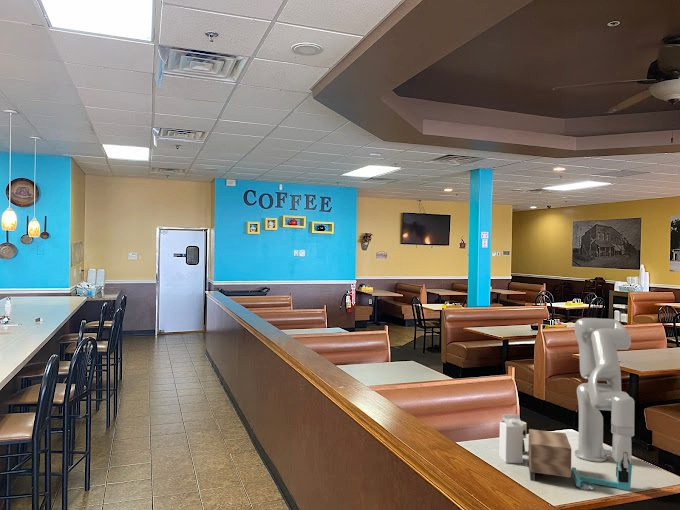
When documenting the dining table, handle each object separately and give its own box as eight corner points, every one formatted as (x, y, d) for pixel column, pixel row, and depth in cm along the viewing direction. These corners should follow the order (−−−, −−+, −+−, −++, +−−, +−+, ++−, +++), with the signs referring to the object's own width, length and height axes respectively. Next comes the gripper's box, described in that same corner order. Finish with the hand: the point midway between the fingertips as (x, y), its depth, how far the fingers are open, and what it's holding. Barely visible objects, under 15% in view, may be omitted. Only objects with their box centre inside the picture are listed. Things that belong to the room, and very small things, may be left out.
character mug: (525, 457, 221) (525, 426, 221) (507, 454, 224) (508, 424, 224) (526, 449, 231) (527, 420, 232) (510, 447, 234) (510, 418, 234)
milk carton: (499, 457, 220) (499, 412, 221) (515, 457, 221) (515, 412, 221) (505, 463, 213) (506, 416, 214) (522, 463, 214) (523, 416, 214)
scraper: (625, 482, 197) (626, 455, 197) (633, 496, 183) (635, 468, 184) (571, 472, 202) (573, 446, 203) (576, 485, 189) (578, 458, 189)
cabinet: (565, 468, 209) (565, 433, 210) (570, 487, 190) (571, 448, 191) (528, 463, 214) (528, 429, 214) (530, 481, 195) (531, 443, 195)
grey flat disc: (573, 484, 194) (573, 481, 194) (589, 484, 194) (589, 481, 194) (582, 491, 188) (582, 487, 188) (598, 491, 188) (598, 488, 188)
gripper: (607, 422, 200) (606, 470, 200) (615, 434, 185) (615, 487, 184) (629, 425, 198) (628, 473, 197) (639, 437, 183) (639, 490, 182)
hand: (622, 479), depth 191 cm, fingers closed on scraper, 3 cm apart
